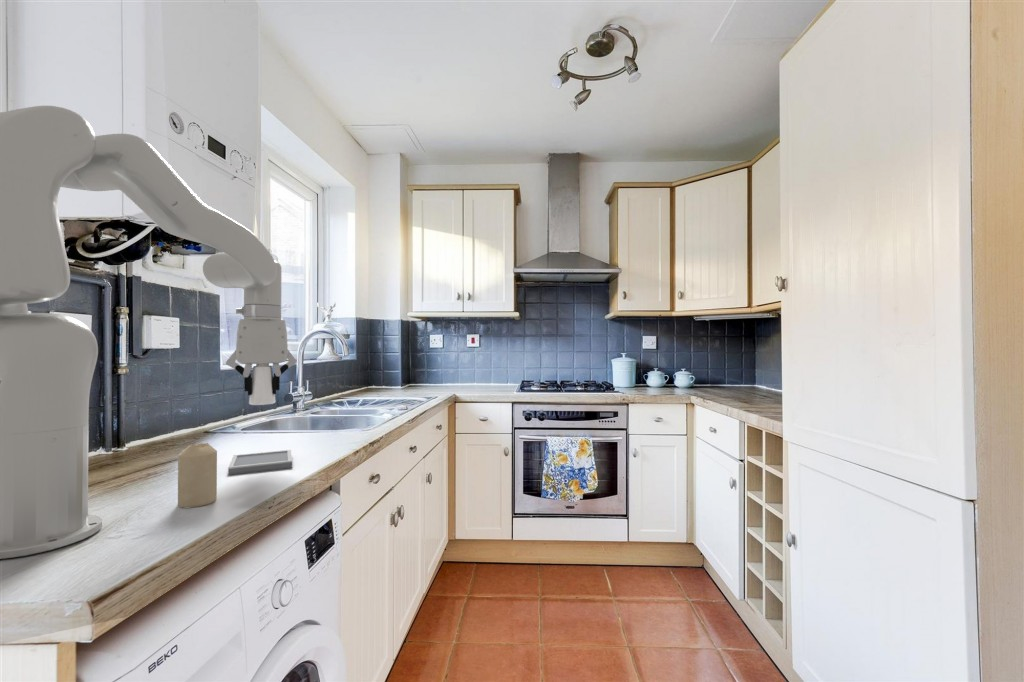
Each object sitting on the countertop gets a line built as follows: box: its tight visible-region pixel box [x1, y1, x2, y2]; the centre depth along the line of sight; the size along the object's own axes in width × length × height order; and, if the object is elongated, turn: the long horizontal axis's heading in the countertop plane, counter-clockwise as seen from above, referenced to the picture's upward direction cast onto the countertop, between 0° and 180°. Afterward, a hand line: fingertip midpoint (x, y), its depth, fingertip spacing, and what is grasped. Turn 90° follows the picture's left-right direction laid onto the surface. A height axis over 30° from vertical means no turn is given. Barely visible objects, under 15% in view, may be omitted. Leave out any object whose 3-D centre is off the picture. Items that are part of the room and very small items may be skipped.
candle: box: [177, 442, 218, 509], centre depth 78 cm, size 6×6×10 cm
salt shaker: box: [248, 363, 276, 406], centre depth 102 cm, size 5×5×11 cm
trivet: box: [227, 449, 293, 476], centre depth 102 cm, size 12×12×2 cm
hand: (262, 393), depth 102 cm, fingers closed on salt shaker, 4 cm apart
